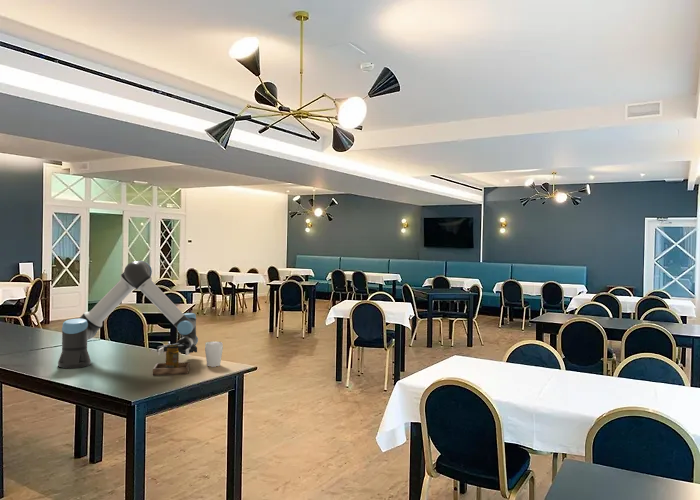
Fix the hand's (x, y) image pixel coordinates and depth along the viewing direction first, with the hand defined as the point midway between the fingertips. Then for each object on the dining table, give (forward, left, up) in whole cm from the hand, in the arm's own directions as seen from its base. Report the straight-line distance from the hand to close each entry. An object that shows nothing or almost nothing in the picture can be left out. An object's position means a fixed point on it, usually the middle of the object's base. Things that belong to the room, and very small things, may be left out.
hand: (172, 352), depth 275 cm
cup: (+20, +10, -10) cm, 24 cm away
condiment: (0, -1, -9) cm, 9 cm away
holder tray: (0, -1, -9) cm, 9 cm away
